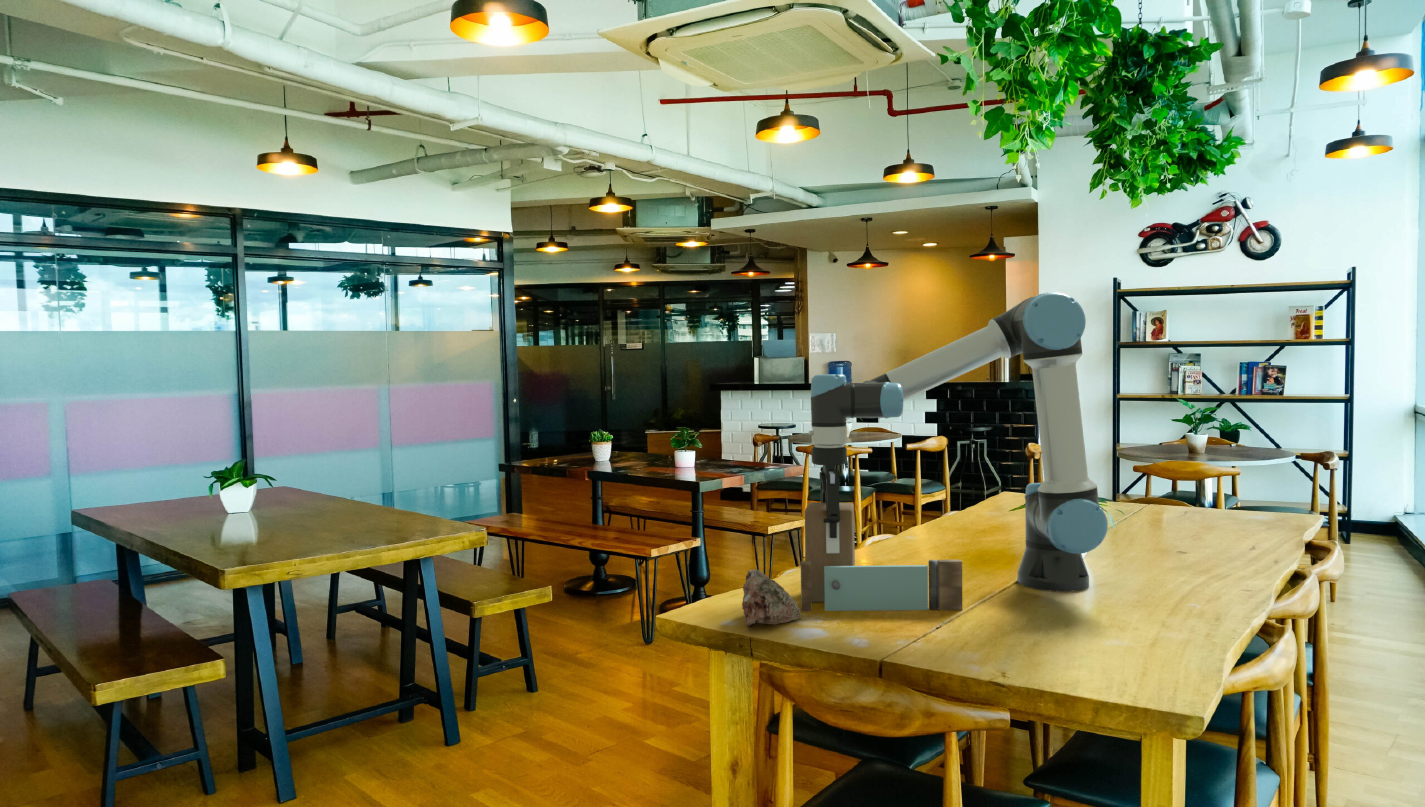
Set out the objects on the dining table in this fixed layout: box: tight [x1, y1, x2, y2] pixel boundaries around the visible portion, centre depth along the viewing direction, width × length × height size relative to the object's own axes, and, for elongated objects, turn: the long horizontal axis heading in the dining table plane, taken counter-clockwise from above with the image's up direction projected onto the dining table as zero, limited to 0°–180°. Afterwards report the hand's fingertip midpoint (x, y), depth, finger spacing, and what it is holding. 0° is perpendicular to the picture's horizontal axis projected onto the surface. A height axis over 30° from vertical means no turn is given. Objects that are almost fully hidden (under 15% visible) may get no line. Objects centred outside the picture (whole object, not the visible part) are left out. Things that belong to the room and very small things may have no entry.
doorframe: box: [800, 559, 963, 612], centre depth 184 cm, size 33×2×10 cm, turn 88°
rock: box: [741, 569, 802, 627], centre depth 178 cm, size 16×11×15 cm
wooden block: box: [804, 502, 856, 604], centre depth 194 cm, size 10×10×20 cm
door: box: [824, 564, 929, 612], centre depth 183 cm, size 21×3×9 cm, turn 88°
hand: (830, 547), depth 194 cm, fingers closed on wooden block, 11 cm apart
